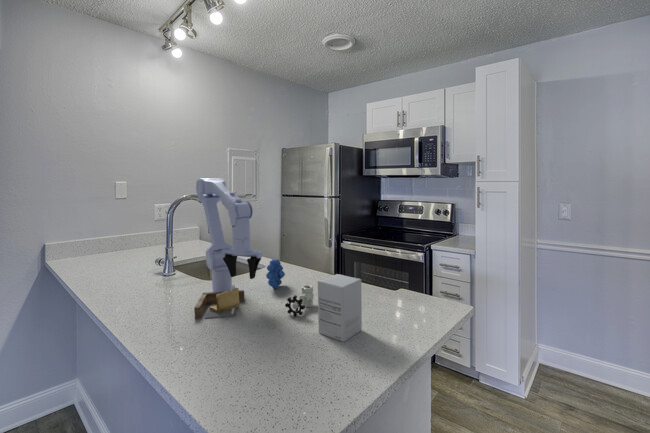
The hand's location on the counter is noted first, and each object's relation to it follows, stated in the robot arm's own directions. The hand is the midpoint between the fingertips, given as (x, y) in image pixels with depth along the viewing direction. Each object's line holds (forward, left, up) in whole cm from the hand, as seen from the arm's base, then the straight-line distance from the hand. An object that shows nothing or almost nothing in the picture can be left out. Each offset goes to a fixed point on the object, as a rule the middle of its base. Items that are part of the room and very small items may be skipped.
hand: (242, 277), depth 112 cm
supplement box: (+27, +28, -10) cm, 40 cm away
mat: (+5, -6, -9) cm, 12 cm away
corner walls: (+3, -7, -9) cm, 12 cm away
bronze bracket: (+4, -6, -9) cm, 11 cm away
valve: (+9, +20, -10) cm, 24 cm away
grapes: (-14, +12, -10) cm, 21 cm away
